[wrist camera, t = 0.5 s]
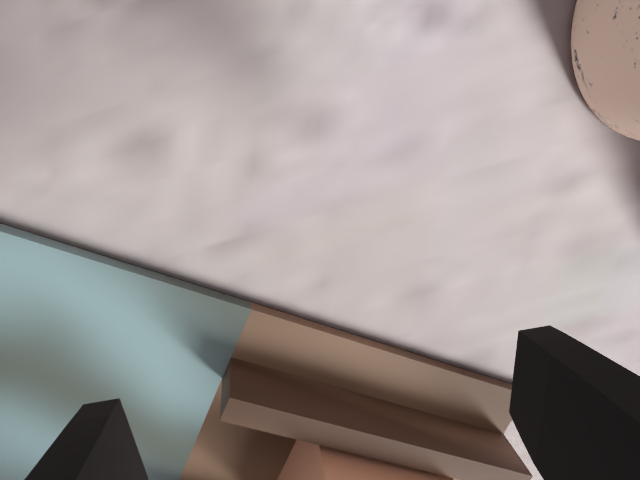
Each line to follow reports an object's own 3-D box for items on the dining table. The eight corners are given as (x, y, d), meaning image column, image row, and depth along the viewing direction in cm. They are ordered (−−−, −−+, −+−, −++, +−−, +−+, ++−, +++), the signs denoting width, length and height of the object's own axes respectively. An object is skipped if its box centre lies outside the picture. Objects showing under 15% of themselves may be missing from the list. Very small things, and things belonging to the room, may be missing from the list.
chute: (404, 574, 26) (425, 638, 23) (-95, 484, 20) (-151, 555, 17) (520, 386, 23) (560, 434, 20) (-29, 214, 17) (-85, 246, 14)
